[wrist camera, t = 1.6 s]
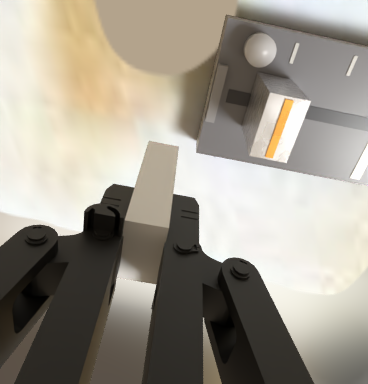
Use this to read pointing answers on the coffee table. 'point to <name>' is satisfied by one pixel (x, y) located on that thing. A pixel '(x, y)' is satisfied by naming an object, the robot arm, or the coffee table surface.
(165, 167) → the robot arm
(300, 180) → the coffee table surface
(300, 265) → the coffee table surface
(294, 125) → the fader
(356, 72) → the console
